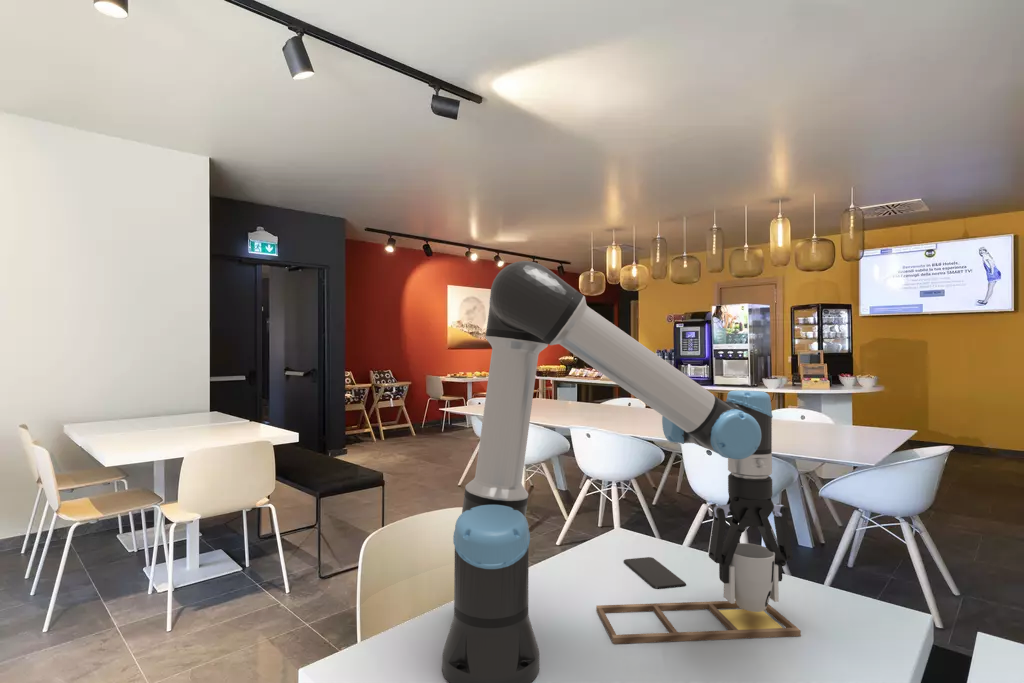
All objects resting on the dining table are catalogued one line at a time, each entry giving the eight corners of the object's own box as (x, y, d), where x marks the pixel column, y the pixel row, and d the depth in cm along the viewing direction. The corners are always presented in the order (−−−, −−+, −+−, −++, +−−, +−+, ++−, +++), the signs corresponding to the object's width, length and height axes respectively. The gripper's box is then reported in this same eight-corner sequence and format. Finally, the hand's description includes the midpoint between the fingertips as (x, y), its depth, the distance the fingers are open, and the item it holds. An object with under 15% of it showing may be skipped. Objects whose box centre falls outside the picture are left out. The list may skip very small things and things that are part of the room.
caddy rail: (613, 643, 92) (613, 637, 92) (596, 610, 104) (596, 605, 104) (800, 636, 95) (800, 630, 95) (763, 604, 107) (763, 599, 107)
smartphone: (688, 588, 116) (652, 560, 131) (688, 584, 116) (652, 556, 131) (654, 591, 114) (621, 562, 129) (654, 587, 114) (621, 558, 129)
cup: (780, 617, 96) (780, 560, 96) (731, 613, 98) (731, 556, 98) (768, 597, 104) (768, 544, 104) (723, 594, 105) (723, 541, 106)
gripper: (705, 480, 97) (706, 611, 96) (815, 478, 98) (816, 606, 98) (687, 471, 104) (688, 592, 104) (790, 469, 106) (791, 588, 105)
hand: (750, 599), depth 101 cm, fingers closed on cup, 8 cm apart
